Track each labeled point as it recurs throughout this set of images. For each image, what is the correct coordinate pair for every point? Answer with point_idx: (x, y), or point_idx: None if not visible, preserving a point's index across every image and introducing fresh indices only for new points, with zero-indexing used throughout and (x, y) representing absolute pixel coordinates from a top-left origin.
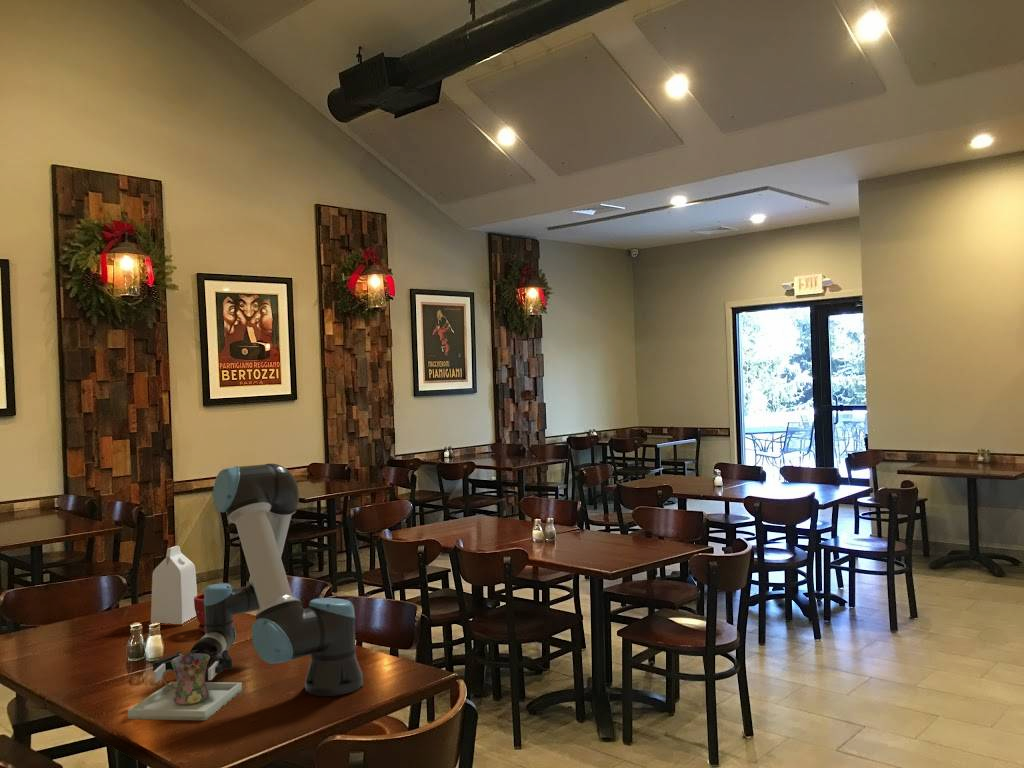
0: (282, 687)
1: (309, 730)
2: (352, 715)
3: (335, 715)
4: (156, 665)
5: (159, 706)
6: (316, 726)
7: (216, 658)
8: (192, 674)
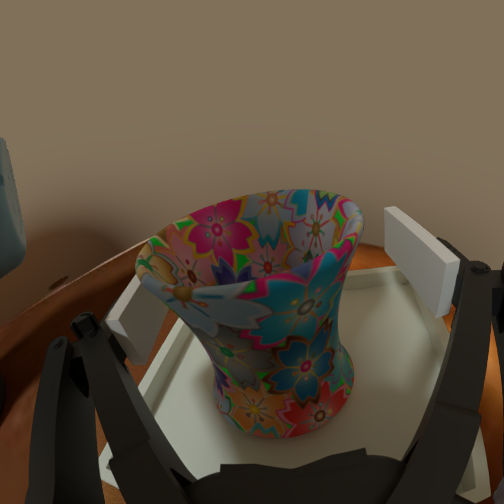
0: (20, 459)
1: (71, 284)
2: (19, 314)
3: (29, 315)
4: (497, 273)
5: (377, 331)
6: (60, 292)
7: (105, 374)
8: (233, 256)
